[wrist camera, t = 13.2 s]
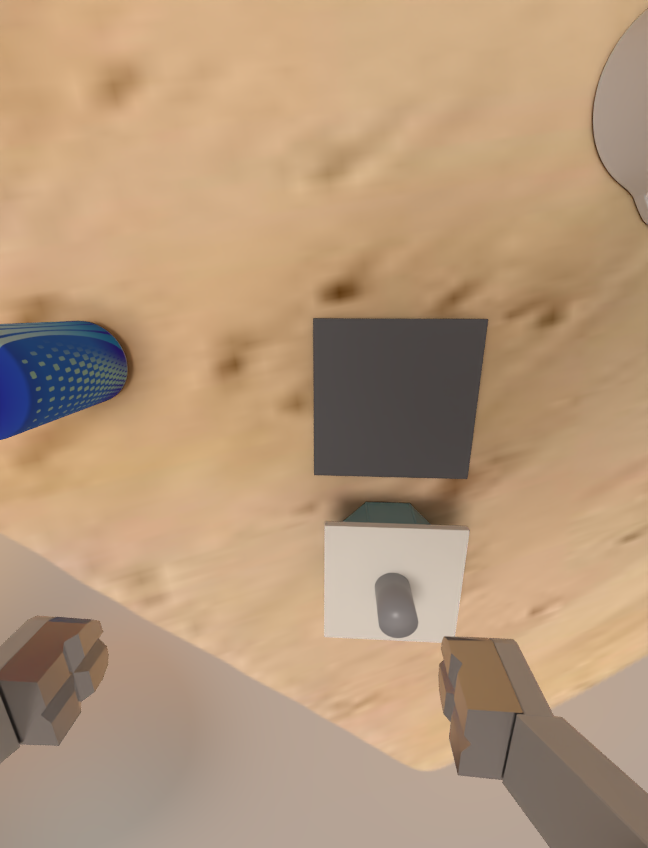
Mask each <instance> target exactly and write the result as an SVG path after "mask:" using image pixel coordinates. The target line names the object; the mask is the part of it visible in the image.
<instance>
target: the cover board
mask: <svg viewBox="0 0 648 848" xmlns="http://www.w3.org/2000/svg"><path fill="white" fill-rule="evenodd" d="M469 532H470V530H469V528H468V527H467V526H456V525H426V524H395V523H364V522H334V521H325V579H324V637H335V638H355V639H375V640H396V641H416V642H437V643H442V639H443V637H444V636H451V637H455V633H456V625H457V618H458V611H459V604H460V597H461V589H462V582H463V575H464V568H465V561H466V553H467V546H468V539H469Z"/></svg>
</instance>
